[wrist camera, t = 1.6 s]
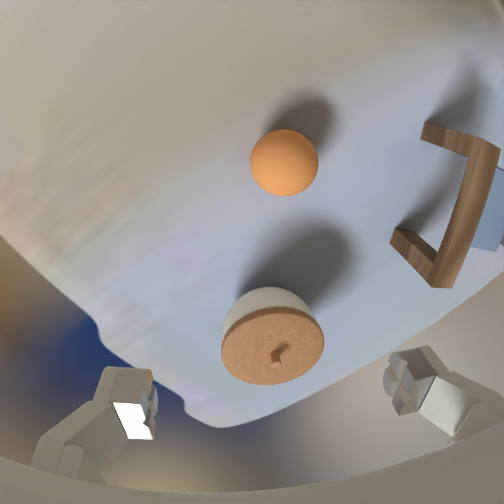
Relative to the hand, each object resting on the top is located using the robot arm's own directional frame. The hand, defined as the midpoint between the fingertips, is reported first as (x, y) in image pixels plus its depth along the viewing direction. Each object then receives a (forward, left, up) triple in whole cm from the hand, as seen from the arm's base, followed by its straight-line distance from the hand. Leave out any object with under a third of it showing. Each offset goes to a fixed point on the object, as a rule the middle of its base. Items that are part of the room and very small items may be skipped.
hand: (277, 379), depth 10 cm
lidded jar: (+15, +6, -24) cm, 29 cm away
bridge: (-3, +21, -24) cm, 32 cm away
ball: (-3, +4, -21) cm, 22 cm away
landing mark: (-3, +35, -24) cm, 42 cm away
